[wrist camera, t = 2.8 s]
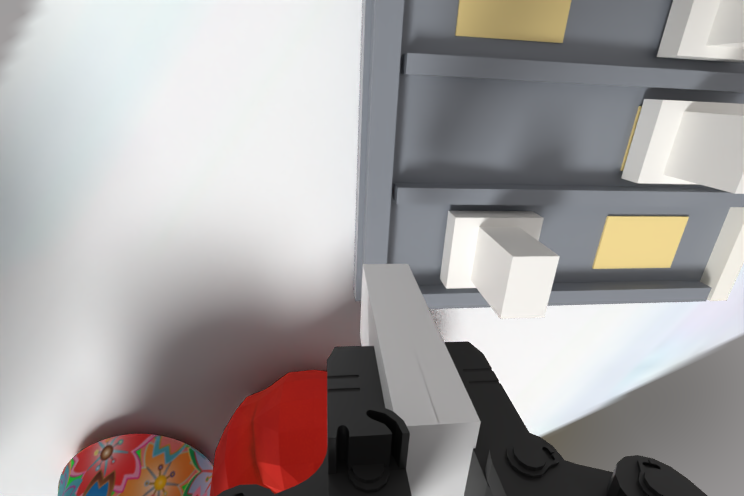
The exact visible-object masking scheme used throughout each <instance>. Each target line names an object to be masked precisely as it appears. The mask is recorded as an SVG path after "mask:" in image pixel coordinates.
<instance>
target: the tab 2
mask: <svg viewBox="0 0 744 496" xmlns="http://www.w3.org/2000/svg"><path fill="white" fill-rule="evenodd" d="M657 57H662V58H677V59H692V60H707V61H722V62H737V63H744V0H673V2H672V6H671V9H670V12H669V16H668V19H667V23H666V26H665V30H664V33H663V36H662V40H661V43H660V47H659V50H658V54H657Z"/></svg>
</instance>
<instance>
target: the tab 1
mask: <svg viewBox="0 0 744 496" xmlns="http://www.w3.org/2000/svg"><path fill="white" fill-rule="evenodd" d="M543 219H544V218H543V217H541V216H540V215H538V214H536V213H535V212H533V211H448V218H447V226H446V234H445V242H444V250H443V258H442V266H441V274H440V280H441V281H442V283H443V284H444V286H445V288H446V289H450V288H477V289H478V291H479V292H480V293H481V295H482V296H483V297H484V299H485V300H486V301H487V302H488V304H489V305H490V306H491V308H492V309H493V310H494V311H495V313H496V314H497V315H498V317H499V318H500V319H517V318H544V317H545V313H546V309H547V305H548V301H549V297H550V293H551V289H552V285H553V281H554V277H555V273H556V269H557V265H558V261H559V257H560V256H559V255H557V254H556V253H555V252H553V251H552V250H550V249H549V248H548V247H546V246H545V245H543V244H542V243H541V242H539V237H540V232H541V228H542V224H543Z"/></svg>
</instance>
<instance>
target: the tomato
mask: <svg viewBox="0 0 744 496" xmlns="http://www.w3.org/2000/svg"><path fill="white" fill-rule="evenodd" d="M326 453H327V371H320V370H307V371H299V372H290V373H287V374H286V375H285V376H283V377H282V378H280V379H279V380H278V381H276V382H275V383H274V384H272V385H271V386H270V387H268V388H267V389H265V390H263V391H260V392H258V393H255V394H253V395H250V396H247V397H246V399H245V400H244V401H243V402H242V403H241V405H240V406H239V407H238V408H237V409H236V411H235V413H234V414H233V416H232V418H231V419H230V421H229V423H228V424H227V426H226V428H225V429H224V432H223V434H222V436H221V439H220V441H219V444H218V446H217V448H216V451H215V458H214V466H213V473H212V481H211V489H210V496H217V495H219V494H220V493H221V492H223V491H225V490H227V489H230V488H233V487H235V486H238V485H247V484H257V485H260V486H262V487H265V488H268V489H270V490H271V491H272V492H273V493H274V494H276V493H279V492H281V491H284V490H286V489H289V488H291V487H294V486H296V485H298V484H300V483H302V482H303V481H305V480H307V479H308V478H309V477H310V476H312V475H313V474H314V473H315V472H316V471H317V470H318V468H319V467H320V466H321V464H322V463H323V461H324V458H325V456H326Z"/></svg>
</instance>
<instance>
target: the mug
mask: <svg viewBox="0 0 744 496" xmlns="http://www.w3.org/2000/svg"><path fill="white" fill-rule="evenodd" d="M212 473H213V465H212V463H211V462H210V461H209V460H208V459H207V458H206V457H205V456H204V455H203V454H202V453H201V452H199V451H198V450H197V449H195V448H193V447H192V446H190V445H188V444H186V443H184V442H181V441H178V440H176V439H172V438H169V437H165V436H159V435H152V434H127V435H120V436H115V437H111V438H107V439H104V440H101V441H99V442H96V443H94V444H92V445H90V446H88V447H86V448H85V449H83V450H82V451H80V452H79V453H78V454H77V455H76V456H74V457H73V458H72V459H71V460H70V462H69V463H68V464H67V465H66V467H65V468H64V470H63V472H62V474H61V477H60V480H59V485H58V496H210V489H211V481H212Z"/></svg>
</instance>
